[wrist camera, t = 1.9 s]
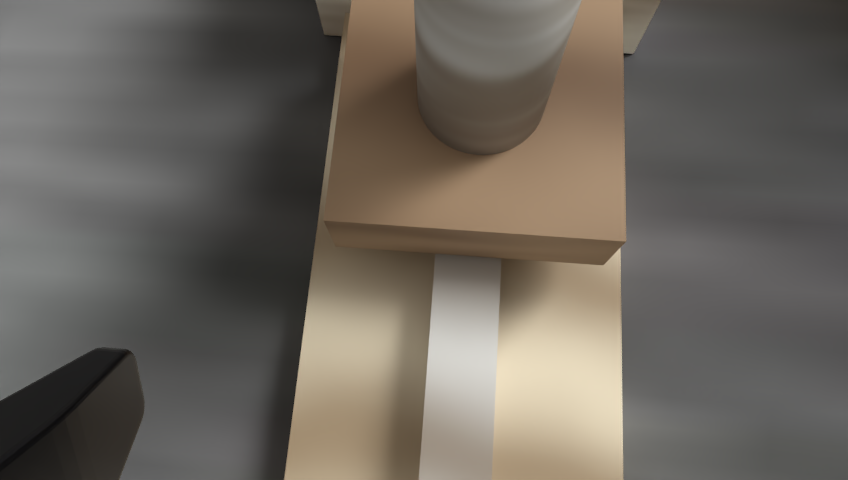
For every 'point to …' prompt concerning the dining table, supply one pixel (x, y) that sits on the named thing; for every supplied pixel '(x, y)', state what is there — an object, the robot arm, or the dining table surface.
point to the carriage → (481, 130)
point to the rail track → (390, 359)
